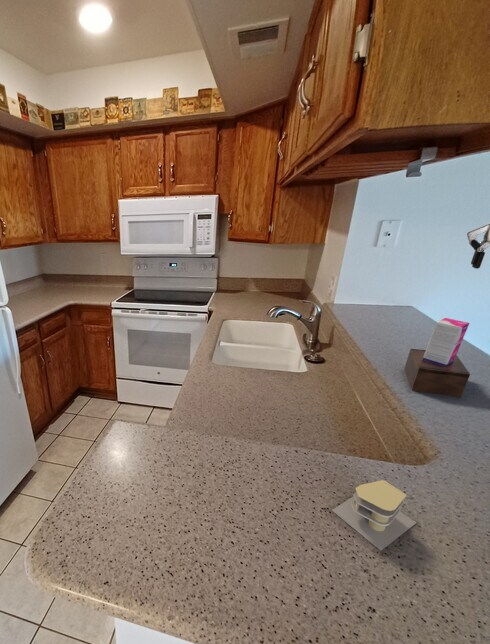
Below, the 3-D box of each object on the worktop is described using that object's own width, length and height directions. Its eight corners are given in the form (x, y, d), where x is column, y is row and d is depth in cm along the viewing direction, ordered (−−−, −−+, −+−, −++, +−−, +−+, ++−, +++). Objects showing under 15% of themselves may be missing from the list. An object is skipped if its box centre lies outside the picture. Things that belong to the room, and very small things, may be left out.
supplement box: (446, 366, 89) (461, 327, 84) (421, 359, 94) (434, 321, 88) (455, 360, 92) (470, 322, 87) (430, 354, 96) (443, 316, 91)
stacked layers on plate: (366, 488, 63) (373, 466, 61) (416, 523, 56) (426, 500, 53) (331, 510, 59) (337, 488, 57) (380, 551, 52) (389, 527, 49)
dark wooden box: (447, 374, 100) (455, 353, 96) (460, 397, 88) (470, 374, 85) (404, 369, 104) (410, 348, 101) (411, 390, 93) (419, 367, 90)
